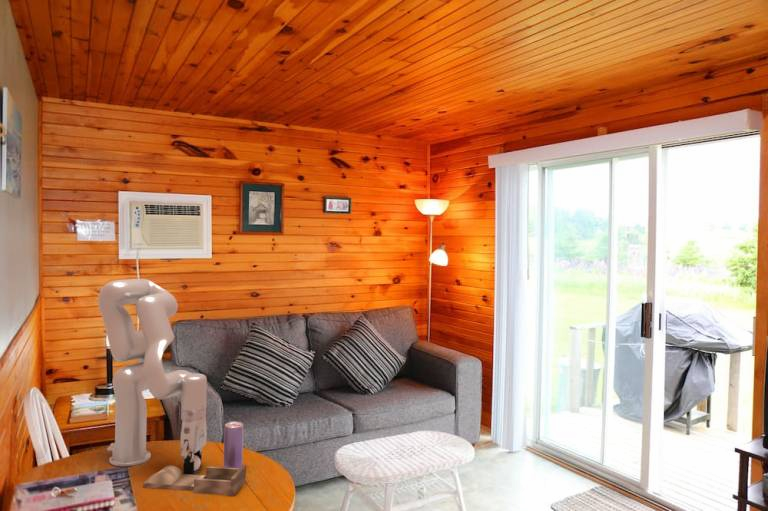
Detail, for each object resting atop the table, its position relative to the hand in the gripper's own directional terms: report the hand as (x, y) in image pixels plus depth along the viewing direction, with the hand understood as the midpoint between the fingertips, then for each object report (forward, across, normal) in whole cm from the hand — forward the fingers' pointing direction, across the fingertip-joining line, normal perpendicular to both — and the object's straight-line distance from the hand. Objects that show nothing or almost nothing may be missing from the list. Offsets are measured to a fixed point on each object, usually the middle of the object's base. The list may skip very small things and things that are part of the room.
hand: (192, 469), depth 182 cm
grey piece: (+1, 0, 0) cm, 1 cm away
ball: (+1, 0, 0) cm, 1 cm away
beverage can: (+1, +3, -12) cm, 13 cm away
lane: (+5, -10, -5) cm, 12 cm away
